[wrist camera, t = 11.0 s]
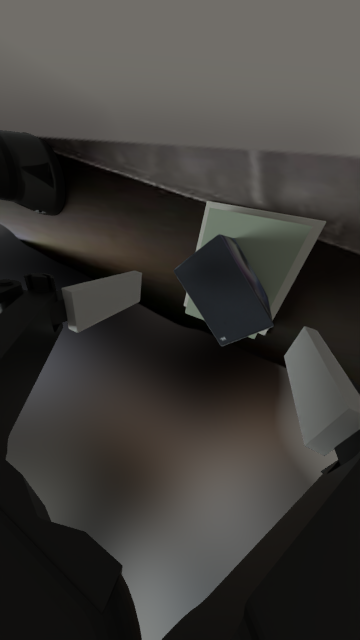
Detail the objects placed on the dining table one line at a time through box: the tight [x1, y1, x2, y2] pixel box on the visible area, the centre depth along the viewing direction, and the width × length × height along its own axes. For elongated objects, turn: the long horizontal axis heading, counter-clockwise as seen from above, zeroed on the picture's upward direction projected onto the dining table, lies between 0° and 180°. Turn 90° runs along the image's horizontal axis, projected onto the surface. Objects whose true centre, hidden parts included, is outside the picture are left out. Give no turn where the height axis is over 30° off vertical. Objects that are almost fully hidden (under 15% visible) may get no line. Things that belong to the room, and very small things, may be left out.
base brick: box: [185, 208, 312, 339], centre depth 28 cm, size 13×17×6 cm
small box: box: [174, 234, 274, 346], centre depth 21 cm, size 11×6×10 cm, turn 36°
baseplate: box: [184, 201, 327, 335], centre depth 31 cm, size 18×20×1 cm
